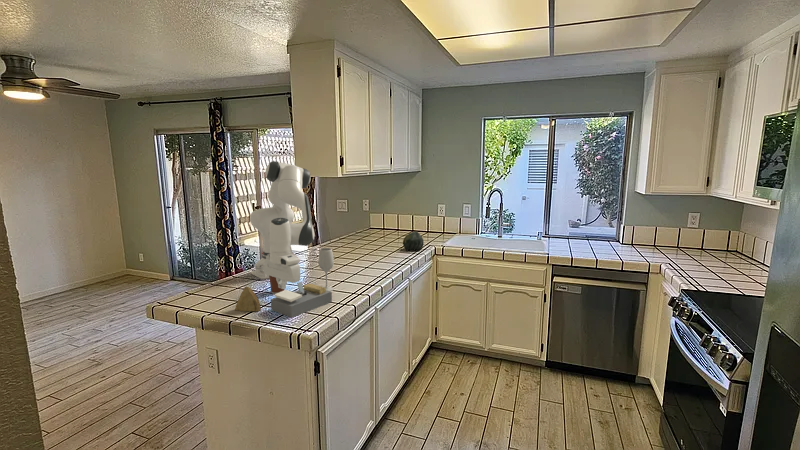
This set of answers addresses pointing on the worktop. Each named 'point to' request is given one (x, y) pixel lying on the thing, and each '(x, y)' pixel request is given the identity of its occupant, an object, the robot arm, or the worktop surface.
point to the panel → (301, 303)
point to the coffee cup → (274, 285)
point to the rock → (248, 301)
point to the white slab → (288, 295)
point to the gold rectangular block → (314, 288)
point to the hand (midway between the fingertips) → (282, 288)
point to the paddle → (300, 288)
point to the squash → (413, 241)
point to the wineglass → (326, 263)
